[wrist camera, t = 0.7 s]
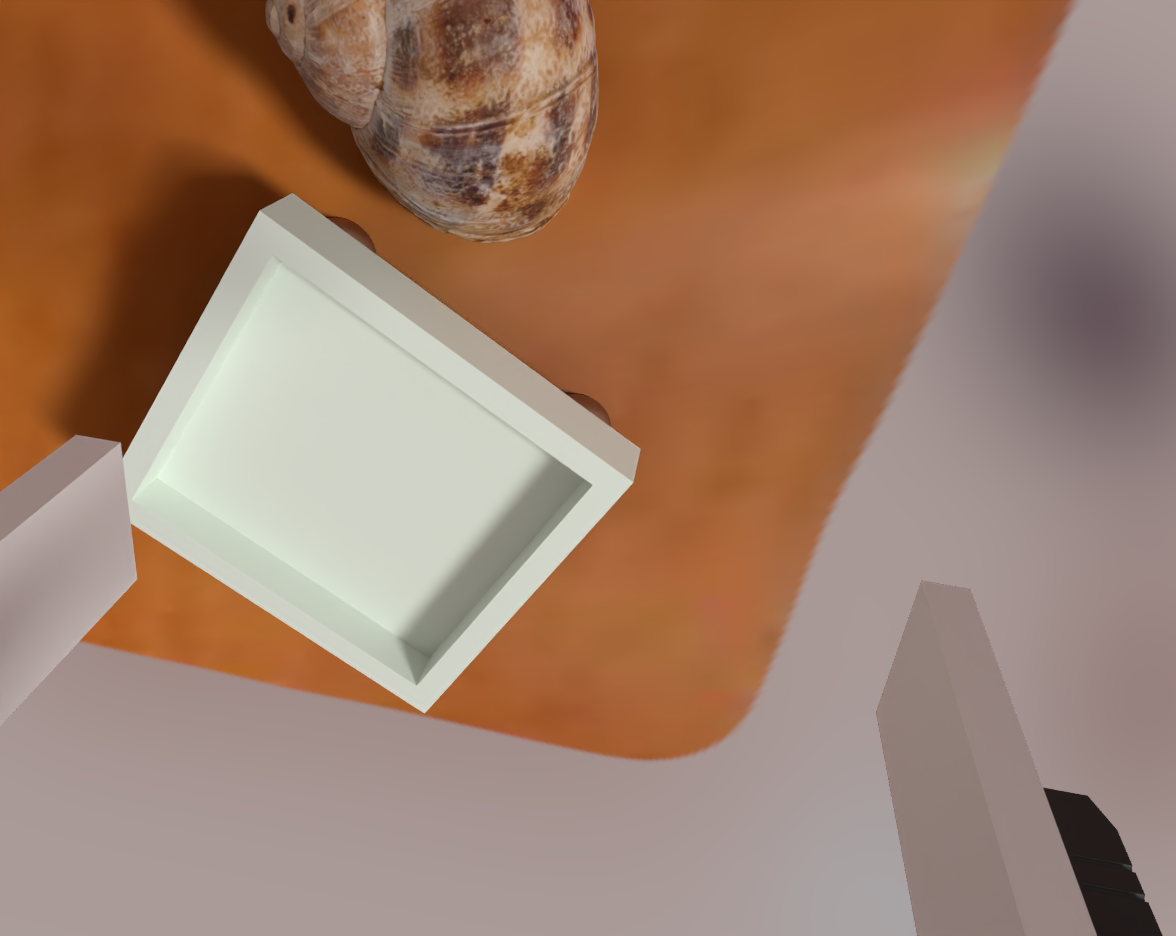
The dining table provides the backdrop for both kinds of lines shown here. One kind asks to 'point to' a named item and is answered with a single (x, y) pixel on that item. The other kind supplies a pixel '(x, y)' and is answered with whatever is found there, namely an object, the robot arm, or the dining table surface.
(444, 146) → the seashell
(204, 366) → the shallow white square tray
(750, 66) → the dining table surface
